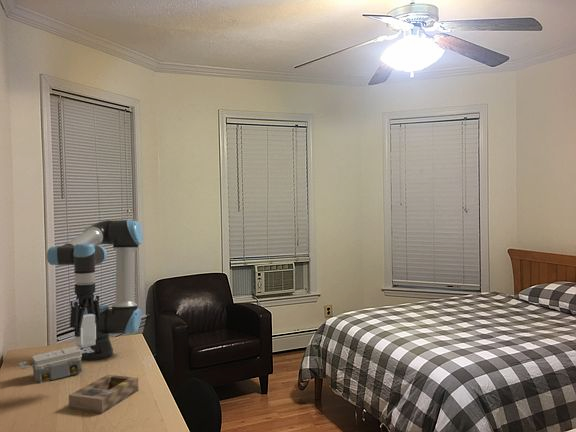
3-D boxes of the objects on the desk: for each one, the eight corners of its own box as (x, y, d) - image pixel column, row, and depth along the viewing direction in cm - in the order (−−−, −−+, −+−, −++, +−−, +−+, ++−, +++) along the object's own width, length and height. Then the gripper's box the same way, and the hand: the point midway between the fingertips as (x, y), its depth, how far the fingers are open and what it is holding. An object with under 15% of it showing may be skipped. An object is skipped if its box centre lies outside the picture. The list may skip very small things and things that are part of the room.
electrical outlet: (97, 371, 219) (95, 348, 218) (23, 390, 203) (21, 365, 202) (90, 363, 229) (88, 342, 228) (19, 381, 212) (17, 358, 212)
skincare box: (90, 343, 201) (90, 312, 201) (96, 345, 199) (95, 314, 198) (75, 346, 197) (75, 315, 197) (81, 348, 194) (80, 317, 194)
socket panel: (107, 386, 202) (107, 373, 202) (138, 390, 198) (138, 377, 198) (68, 408, 181) (67, 394, 181) (102, 413, 177) (101, 398, 177)
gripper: (94, 279, 208) (95, 334, 208) (58, 287, 189) (59, 348, 189) (109, 279, 205) (110, 336, 206) (74, 288, 186) (75, 349, 187)
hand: (86, 341), depth 198 cm, fingers closed on skincare box, 7 cm apart
